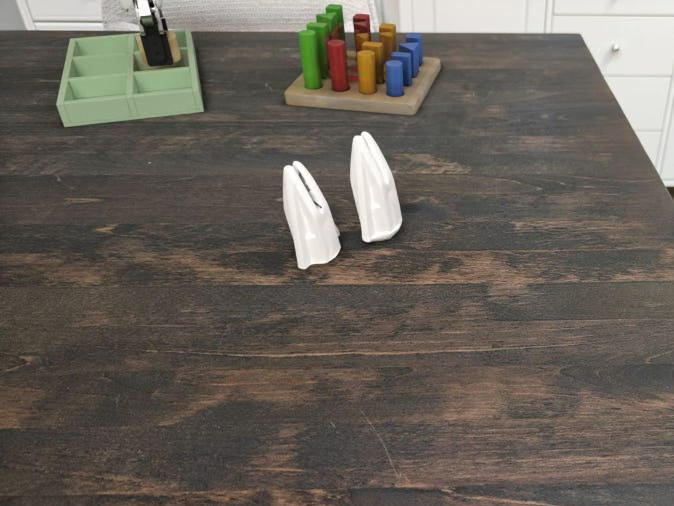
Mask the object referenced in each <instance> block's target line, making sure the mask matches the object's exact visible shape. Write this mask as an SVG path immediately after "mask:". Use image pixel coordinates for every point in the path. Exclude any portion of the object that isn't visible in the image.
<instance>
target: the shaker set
mask: <svg viewBox="0 0 674 506" xmlns="http://www.w3.org/2000/svg"><path fill="white" fill-rule="evenodd" d="M351 143H352V144H351V154H350V165H349V167H350V169H349V181H350V186H351V191H352V194H353V199H354V203H355V207H356V211H357V215H358V219H359V223H360V228H361V229H360V230H361V240H362V241H363V242H366V243H372V242H384V241H386V240H387V241H388V240H390V239H391V238H393V237H394V236H395V235H396V234H397V232H398V231H399V230H400V229H401V226H402V223H403V216H402V210H401V206H400V201H399V195H398V192H397V187H396V183H395V178H394V176H393V175H394V174H393V173H392V170H391V167H390V166H389V164H388V162H387V160H386V158H385V156H384V154H383V152H382V150H381V149H380V147H379V144H377V142H376V141H375V139H374V138H373V136H372V135H371V134H370V133H369V132H367V131H362V132H361V133H360V135H354V136H353V138H352V142H351ZM282 201H283V202H282V203H283V212H284V214H285V215H284V216H285V219H286V221H287V225H288V228H289V231H290V234H291V237H292V240H293V243H294V244H293V245H294V250H295V257H296V262H297V268H298V269H301V270H306V269H308V268H309V267H310V266H311V265H315V264H318V265H323V264H327V263H329V262H330V261H332V260H333V259H335V258H336V257H337V256H338V254H339V252H340V251H341V243H340V240H339V237H340V236H341V234H340V230H339V228H338V226H337V225H336V224H335V222H334V218H333V216H332V212H331V209H330V206H329V204H328V202H327V199H326V198H325V196H324V194H323V192H322V191H321V189H320V187H319V186H318V183H317V182H316V181H315V178H314V177H313V176H312V174H311V173H310V171H308V169H307V168H306V166H305V165H304V164H303V163H301V162H300V161H298V160H293V162H292V165H290V164H287V165H285V166H284V167H283V173H282Z"/></svg>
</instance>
